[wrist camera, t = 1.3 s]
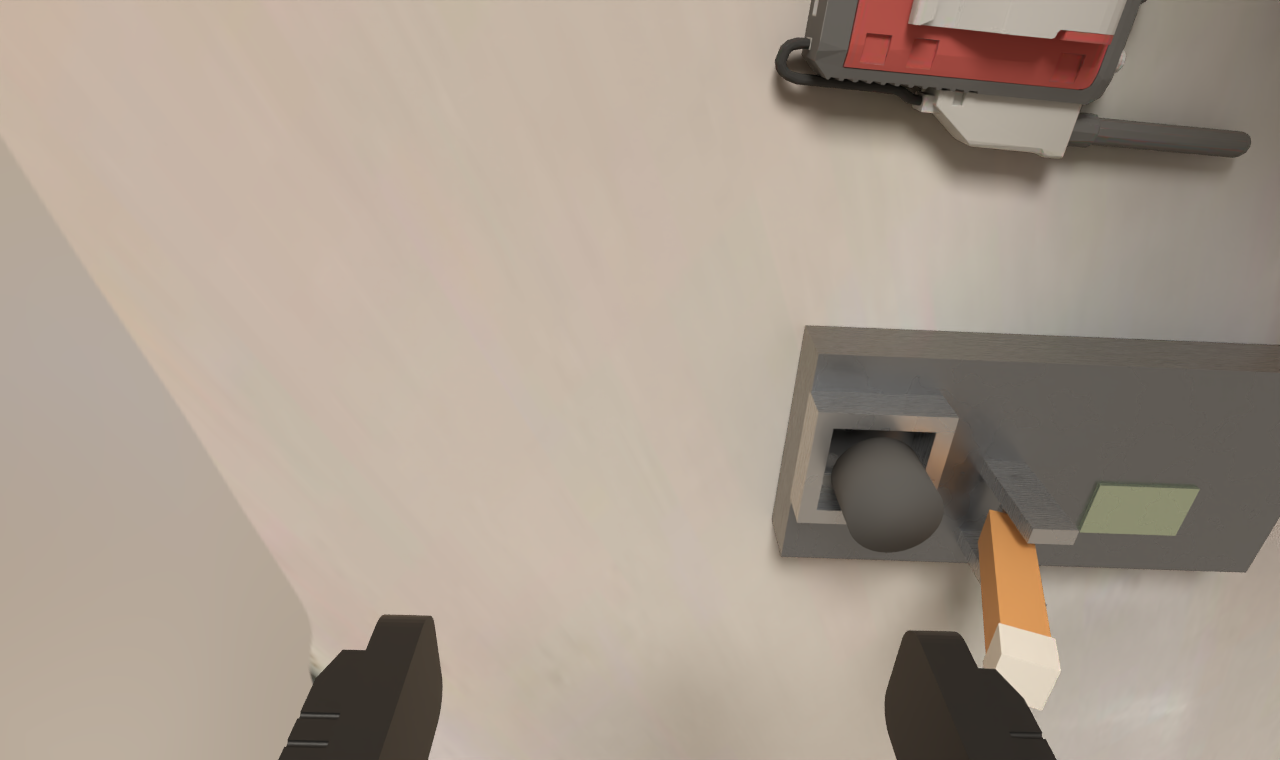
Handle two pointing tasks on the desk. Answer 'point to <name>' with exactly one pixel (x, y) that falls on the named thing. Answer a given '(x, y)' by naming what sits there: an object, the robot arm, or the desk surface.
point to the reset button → (886, 495)
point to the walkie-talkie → (993, 69)
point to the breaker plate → (1044, 444)
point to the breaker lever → (1015, 611)
